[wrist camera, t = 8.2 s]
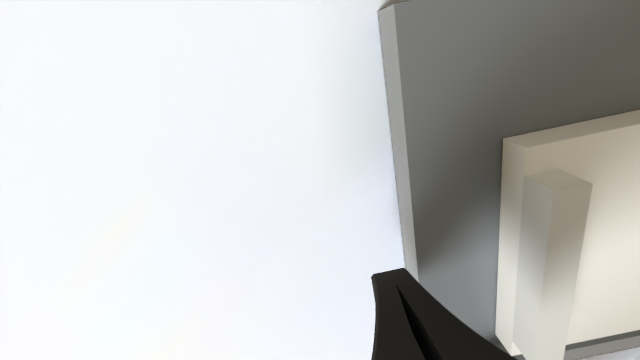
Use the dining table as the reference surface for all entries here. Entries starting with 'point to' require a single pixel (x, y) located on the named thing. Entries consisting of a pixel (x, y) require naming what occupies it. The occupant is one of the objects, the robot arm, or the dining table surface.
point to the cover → (569, 236)
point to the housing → (491, 124)
